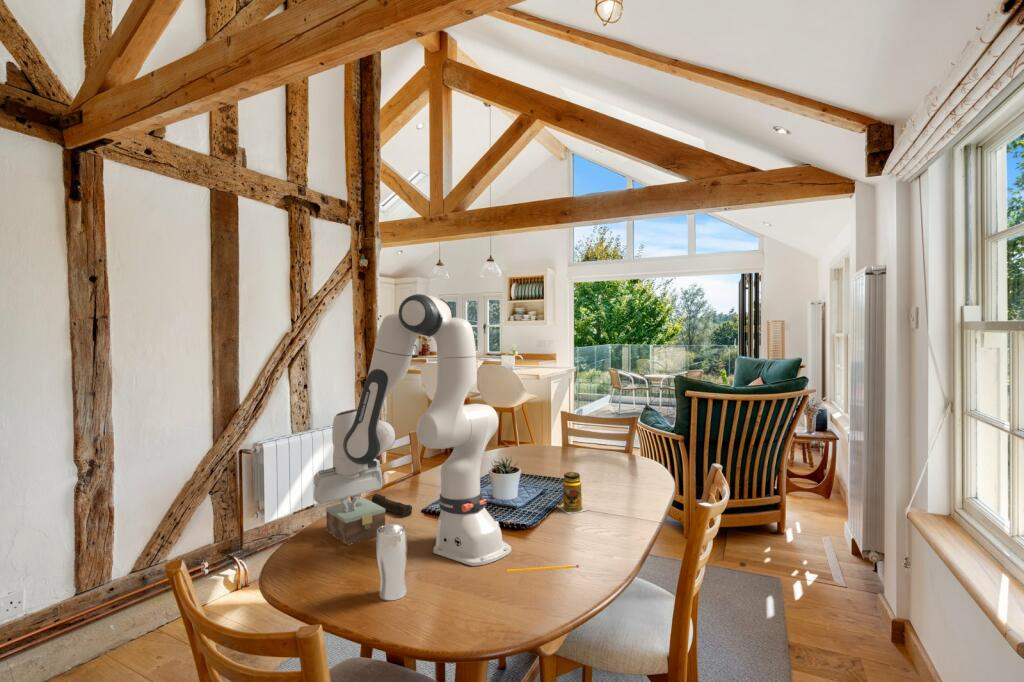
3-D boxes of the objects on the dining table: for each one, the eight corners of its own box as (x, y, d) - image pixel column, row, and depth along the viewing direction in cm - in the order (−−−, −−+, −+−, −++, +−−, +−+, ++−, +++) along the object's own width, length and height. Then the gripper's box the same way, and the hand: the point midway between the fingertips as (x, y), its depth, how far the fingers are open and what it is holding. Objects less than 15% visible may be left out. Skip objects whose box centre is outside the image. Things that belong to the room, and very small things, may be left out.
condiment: (568, 514, 163) (567, 477, 163) (556, 506, 171) (555, 471, 171) (587, 511, 166) (587, 474, 166) (574, 503, 174) (574, 468, 173)
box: (386, 534, 150) (386, 512, 149) (348, 546, 141) (347, 523, 141) (363, 521, 160) (363, 501, 160) (327, 532, 152) (326, 510, 152)
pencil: (579, 568, 126) (579, 565, 126) (506, 573, 124) (506, 570, 124) (578, 567, 127) (578, 564, 127) (506, 572, 125) (506, 569, 125)
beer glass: (380, 587, 118) (378, 524, 118) (410, 585, 119) (408, 522, 119) (374, 603, 111) (372, 535, 111) (406, 600, 112) (404, 534, 112)
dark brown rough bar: (413, 515, 166) (412, 501, 166) (403, 519, 163) (403, 504, 163) (379, 504, 178) (378, 491, 178) (369, 507, 175) (369, 494, 175)
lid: (386, 518, 150) (386, 509, 150) (347, 529, 141) (346, 520, 141) (364, 506, 161) (363, 497, 160) (325, 516, 152) (325, 507, 152)
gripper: (318, 473, 139) (319, 523, 139) (384, 460, 153) (385, 504, 153) (309, 469, 144) (310, 517, 144) (374, 456, 158) (375, 500, 158)
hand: (349, 510), depth 149 cm, fingers closed, pressing on lid
